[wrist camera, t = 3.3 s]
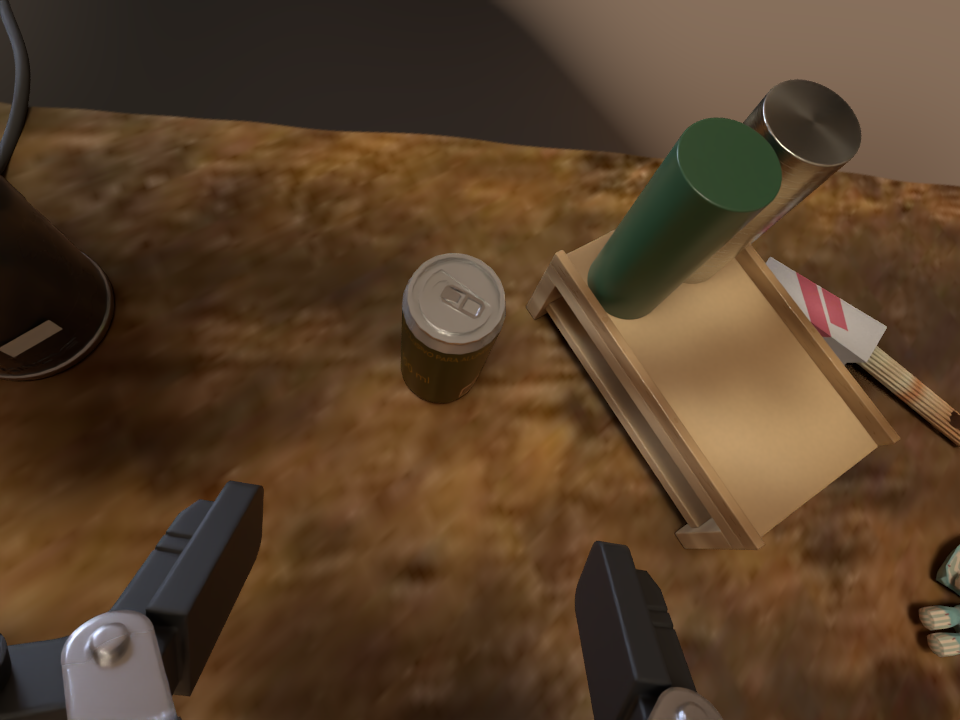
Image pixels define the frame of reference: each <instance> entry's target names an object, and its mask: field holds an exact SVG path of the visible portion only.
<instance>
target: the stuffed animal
mask: <svg viewBox="0 0 960 720" xmlns="http://www.w3.org/2000/svg"><path fill="white" fill-rule="evenodd" d="M936 580H937V581H938V582H940V583H941V584H943V585H945V586H946V587H948V588H950V589H952V590H953V591H954V592H956V593H957V594H958V595H960V545H959V546H958V547H956V548H955V549H954V550H953V551H952V552H951V553H950V554H949V555H948V557H947V558H946V560H945V561H944V563H943V564H942V566H941V567H940V568H939V570H938V572H937V577H936ZM919 619H920V620H921V622H922V624H923V626H924V627H926V628H927V629H929V630H938V629H945V628H950V627H953V628H954V629H955V631H956V632H957V633H933V634H929V635H927V640H928V645H929V647H930V649H931V650H932V652H933V653H935V654H936V655H938V656H939V657H947V656H953V655H958V654H960V605H957V606H955V607H954V608H951V607H947V606H941V605H939V606H929V607H923V608H921V609H919Z"/></svg>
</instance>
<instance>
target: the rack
mask: <svg viewBox="0 0 960 720" xmlns="http://www.w3.org/2000/svg"><path fill="white" fill-rule="evenodd" d="M860 143H861V129H860V125H859V122H858V120H857V117H856V116H855V114H854V112H853V110H852V109H851V108H850V106H849V105H848V104H847V103H846V102H845V101H844V100H843V99H842V98H841V97H840V96H839V95H838V94H836V93H835V92H833V91H832V90H830V89H829V88H827V87H825V86H823V85H821V84H818V83H815V82H812V81H807V80H788V81H785V82H782V83H779V84H778V85H776V86H774V87H773V88H772V89H771V90H770V91H769V92H768V94H767V95H766V96H765V97H764V98H763V99H762V101H761V102H760V103H759V104H758V106H757V107H756V108H755V109H754V110H753V112H752V113H751V114H750V115H749V116H748V118H747V119H746V120H745V121H744V122H743V123H740V122H737V121H735V120H731V119H726V118H708V119H703V120H701V121H698V122H696V123H694V124H692V125H691V126H690V127H688V128H687V129H686V130H685V131H684V133H683V134H682V135H681V137H680V138H679V140H678V141H677V142H676V144H675V145H674V147H673V148H672V150H671V151H670V152H669V154H668V155H667V157H666V158H665V160H664V161H663V162H662V164H661V165H660V167H659V168H658V170H657V171H656V172H655V174H654V175H653V177H652V178H651V180H650V181H649V183H648V184H647V185H646V187H645V188H644V190H643V191H642V193H641V194H640V195H639V197H638V198H637V200H636V201H635V203H634V204H633V205H632V207H631V208H630V210H629V211H628V213H627V214H626V215H625V217H624V218H623V220H622V221H621V223H620V224H619V225H618V227H617V228H616V229H615V230H613V231H612V232H610V233H608V234H606V235H604V236H602V237H600V238H598V239H596V240H594V241H592V242H590V243H588V244H586V245H584V246H582V247H580V248H578V249H576V250H574V251H572V252H570V253H568V254H566V253H565V252H564V251H563V250H561V251H559V252H557V253H555V255H554V257H553V259H552V261H551V263H550V264H549V266H548V268H547V270H546V271H545V273H544V275H543V277H542V279H541V280H540V282H539V284H538V286H537V288H536V290H535V291H534V293H533V295H532V297H531V299H530V301H529V302H528V304H527V306H526V308H527V309H528V311H529V312H530V314H531V315H532V317H533V318H534V320H535V319H537V318H539V317H541V316H543V315H544V314H546V313H548V314H549V315H550V317H551V318H552V320H553V321H554V323H555V324H556V326H557V327H558V329H559V330H560V332H561V333H562V335H563V336H564V338H565V339H566V341H567V342H568V344H569V345H570V347H571V348H572V350H573V351H574V353H575V354H576V356H577V357H578V359H579V360H580V362H581V363H582V365H583V366H584V368H585V369H586V371H587V372H588V374H589V375H590V377H591V378H592V380H593V381H594V383H595V384H596V386H597V388H598V389H599V391H600V392H601V394H602V395H603V397H604V398H605V400H606V401H607V403H608V404H609V406H610V407H611V409H612V410H613V412H614V413H615V415H616V416H617V418H618V419H619V421H620V422H621V424H622V425H623V427H624V428H625V430H626V431H627V433H628V434H629V436H630V437H631V439H632V440H633V442H634V443H635V445H636V446H637V448H638V449H639V451H640V452H641V454H642V455H643V457H644V458H645V460H646V461H647V463H648V464H649V466H650V467H651V469H652V470H653V472H654V473H655V475H656V476H657V478H658V479H659V481H660V482H661V484H662V485H663V487H664V489H665V490H666V492H667V493H668V495H669V496H670V498H671V499H672V501H673V502H674V504H675V505H676V507H677V508H678V510H679V511H680V513H681V514H682V516H683V517H684V519H685V520H686V522H687V523H688V524H687V525H685V526H684V527H682V528H681V529H680V530H678V531H677V532H676V533H675V535H676V536H677V538H678V539H679V541H680V542H681V544H682V545H683V547H684V548H685V549H739V550H745V549H746V550H759V549H760V548H761V547H763V546H764V545H765V543H764V541H763V540H762V538H761V537H762V536H763V535H765V534H766V533H767V532H769V531H770V530H771V529H772V528H774V527H775V526H776V525H778V524H779V523H780V522H782V521H783V520H784V519H785V518H787V517H788V516H789V515H791V514H792V513H793V512H794V511H796V510H797V509H798V508H800V507H801V506H802V505H803V504H805V503H806V502H807V501H809V500H810V499H811V498H812V497H814V496H815V495H816V494H818V493H819V492H820V491H821V490H823V489H824V488H825V487H827V486H828V485H829V484H831V483H832V482H833V481H834V480H836V479H837V478H838V477H840V476H841V475H842V474H843V473H845V472H846V471H847V470H849V469H850V468H851V467H852V466H854V465H855V464H856V463H858V462H859V461H860V460H861V459H863V458H864V457H865V456H867V455H868V454H869V453H870V452H872V451H873V450H874V449H876V448H877V447H878V446H884V445H889V444H894V443H896V442H897V441H898V440H900V437H899V436H898V434H897V433H896V432H895V431H894V429H893V428H892V427H891V425H890V424H889V423H888V422H887V420H886V419H885V418H884V416H883V415H882V414H881V412H880V411H879V410H878V409H877V407H876V406H875V405H874V403H873V402H872V401H871V400H870V398H869V397H868V396H867V394H866V393H865V392H864V390H863V389H862V388H861V387H860V385H859V384H858V383H857V381H856V380H855V379H854V377H853V376H852V375H851V374H850V372H849V371H848V370H847V368H846V367H845V366H844V365H843V363H842V362H841V361H840V359H839V358H838V357H837V355H836V354H835V353H834V352H833V350H832V349H831V348H830V346H829V345H828V344H827V343H826V341H825V340H824V339H823V337H822V336H821V335H820V333H819V332H818V331H817V330H816V328H815V327H814V326H813V324H812V323H811V322H810V321H809V319H808V318H807V317H806V315H805V314H804V313H803V311H802V310H801V309H800V308H799V306H798V305H797V304H796V302H795V301H794V300H793V299H792V297H791V296H790V295H789V293H788V292H787V291H786V289H785V288H784V287H783V286H782V284H781V283H780V282H779V280H778V279H777V278H776V277H775V275H774V274H773V273H772V271H771V270H770V269H769V267H768V266H767V265H766V264H765V262H764V261H763V260H762V258H761V257H760V256H759V255H758V253H757V252H756V251H755V249H754V248H753V247H752V245H751V244H752V243H753V242H754V241H755V240H756V239H757V238H759V237H760V236H761V235H762V234H763V233H765V232H766V231H767V230H768V229H769V228H770V227H772V226H773V225H774V224H775V223H776V222H778V221H779V220H780V219H781V218H782V217H783V216H785V215H786V214H787V213H788V212H789V211H791V210H792V209H793V208H794V207H795V206H796V205H798V204H799V203H800V202H801V201H802V200H804V199H805V198H806V197H807V196H808V195H809V194H811V193H812V192H813V191H814V190H815V189H817V188H818V187H819V186H820V185H821V184H822V183H824V182H825V181H826V180H827V179H828V178H830V177H831V176H832V175H833V174H834V173H835V172H837V171H838V170H839V169H840V168H841V167H843V166H844V165H845V164H846V163H847V162H848V161H850V160H851V159H852V158H853V157H854V155H855V154H856V153H857V151H858V149H859V147H860Z"/></svg>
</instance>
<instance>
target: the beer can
mask: <svg viewBox="0 0 960 720" xmlns="http://www.w3.org/2000/svg"><path fill="white" fill-rule="evenodd" d="M505 316H506V301H505V293H504V290H503V287H502V284H501V281H500V279H499V278H498V276H497V275H496V274H495V272H494V271H493V270H492V268H490V267H489V266H488V265H486V264H485V263H484V262H482V261H481V260H480V259H477V258H474V257H472V256H469V255H466V254H457V253H448V254H443V255H438V256H435V257H433V258H431V259H430V260H428V261H426V262H424V263H423V264H422V265H421V266H420V267H419V268H418V269H417V270H416V271H415V273H414V274H413V276H412V278H411V279H410V280H409V282H408V284H407V286H406V289H405V291H404V293H403V305H402V338H401V371H402V375H403V379H404V381H405V383H406V384H407V385H408V387H409V388H410V390H411V391H412V392H414V393H415V394H416V395H417V396H419V397H420V398H422V399H425V400H428V401H430V402H437V403H446V402H450V401H454V400H457V399H459V398H460V397H462V396H463V395H465V394H466V393H468V391H469V390H470V389H471V387H472V386H473V385H474V384H475V382H476V380H477V378H478V375H479V373H480V371H481V369H482V367H483V365H484V363H485V361H486V359H487V357H488V355H489V353H490V351H491V349H492V347H493V345H494V343H495V341H496V339H497V337H498V335H499V332H500V330H501V328H502V325H503V322H504V319H505Z"/></svg>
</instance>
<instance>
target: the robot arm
mask: <svg viewBox="0 0 960 720" xmlns="http://www.w3.org/2000/svg"><path fill="white" fill-rule="evenodd" d="M0 16H1V18H2V21H3V23H4V26H5V28H6V31H7V33H8V36H9V39H10V42H11V44H12V48H13V53H14V58H15V69H16V70H15V89H14V96H13V102H12V107H11V112H10V116H9V120H8V123H7V126H6V129H5V132H4V135H3V137H2V140H1V142H0V379H4V380H12V381H27V380H35V379H41V378H45V377H48V376H52V375H55V374H57V373H60V372H62V371H64V370H66V369H68V368H70V367H72V366H73V365H75V364H77V363H78V362H80V361H81V360H82V359H84V358H85V357H86V356H87V355H88V354H90V353H91V352H92V351H93V350H94V349H95V347H96V346H97V345H98V344H99V343H100V341H101V340H102V338H103V337H104V335H105V334H106V332H107V330H108V328H109V326H110V323H111V320H112V317H113V312H114V294H113V290H112V286H111V283H110V281H109V279H108V277H107V276H106V274H105V273H104V271H103V270H102V269H101V268H100V267H99V266H98V265H97V264H96V263H95V262H94V261H93V260H92V259H91V258H90V257H88V256H87V255H86V254H84V253H83V252H81V251H80V250H79V249H78V248H77V247H76V246H75V245H74V244H72V243H71V242H70V241H69V240H68V239H67V238H66V237H65V236H64V235H63V234H62V233H61V232H60V231H59V230H58V229H57V228H55V227H54V226H53V225H52V224H51V223H50V222H49V221H48V220H47V219H46V218H45V217H44V216H42V215H41V214H40V213H39V212H38V211H37V210H36V209H35V208H34V207H33V206H32V205H31V204H29V203H28V202H27V201H26V199H25V197H24V196H23V195H22V194H21V193H19V192H18V191H17V190H16V189H15V188H14V187H13V186H12V185H11V184H10V183H9V182H8V181H7V180H6V179H4V178H3V177H2V176H1V173H2V172H3V170H4V169H5V167H6V166H7V164H8V162H9V160H10V157H11V155H12V153H13V150H14V148H15V146H16V143H17V141H18V139H19V136H20V134H21V131H22V128H23V125H24V122H25V118H26V113H27V108H28V101H29V93H30V65H29V58H28V54H27V50H26V47H25V43H24V40H23V38H22V35H21V32H20V30H19V28H18V25H17V22H16V20H15V17H14V15H13V12H12V10H11V7H10V4H9V1H8V0H0ZM263 497H264V489H263V486H260V485H254V484H248V483H242V482H235V481H229V482H227V483H226V485H225V486H224V488H223V489H222V491H221V492H220V494H219V496H218V497H217V499H216V500H215V502H213V501H207V500H200V499H199V500H198V501H196V502H195V503H194V504H192V505H191V506H189V507H188V508H186V509H185V510H183V511H182V512H181V513H179V514H178V516H177V517H176V519H175V520H174V521H173V523H172V524H171V526H170V527H169V528H168V530H167V531H166V534H165V535H163V537H162V538H161V540H160V541H159V542H158V544H157V545H156V547H155V550H153V551H152V552H151V554H150V555H149V556H148V558H147V559H146V561H145V562H144V564H143V565H142V566H141V568H140V569H139V571H138V572H137V573H136V575H135V576H134V578H133V579H132V580H131V582H130V583H129V585H128V586H127V587H126V589H125V590H124V592H123V593H122V594H121V596H120V597H119V599H118V600H117V602H116V603H115V604H114V606H113V607H112V608H111V609H110V611H109V612H107V613H103V614H101V615H98V616H96V617H94V618H92V619H90V620H88V621H87V622H85V623H84V624H82V625H81V626H80V627H78V628H77V629H76V630H75V631H74V632H73V633H72V634H71V635H69V636H66V637H63V638H58V639H53V640H46V641H39V642H32V643H25V644H18V645H10V646H7V643H6V641H5V638H4V637H3V636H2V634H1V633H0V720H182V719H181V717H177V714H176V711H175V707H174V703H173V700H172V695H173V694H175V695H183V696H191V693H192V691H193V689H194V687H195V685H196V683H197V681H198V679H199V677H200V675H201V673H202V671H203V668H204V666H205V664H206V662H207V660H208V658H209V656H210V654H211V652H212V650H213V648H214V646H215V643H216V641H217V639H218V637H219V635H220V633H221V631H222V629H223V627H224V625H225V623H226V621H227V618H228V616H229V614H230V612H231V610H232V608H233V606H234V604H235V602H236V600H237V598H238V596H239V593H240V591H241V589H242V587H243V585H244V583H245V581H246V579H247V577H248V575H249V573H250V571H251V568H252V566H253V564H254V562H255V560H256V557H257V554H258V551H259V547H260V543H261V537H262V520H263ZM575 612H576V618H577V623H578V629H579V635H580V640H581V646H582V652H583V657H584V663H585V669H586V675H587V680H588V686H589V692H590V697H591V703H592V709H593V714H594V720H723V719H722V717H721V715H720V714H719V712H718V711H717V710H716V709H715V707H714V706H713V705H712V704H711V703H710V702H709V701H708V700H706V699H705V698H704V697H703V696H701V695H699V694H698V693H697V691H696V688H695V686H694V683H693V680H692V677H691V674H690V671H689V669H688V666H687V663H686V660H685V657H684V654H683V652H682V649H681V646H680V643H679V640H678V637H677V635H676V632H675V630H674V629H673V623H672V620H671V618H670V615H669V613H667V606H666V603H665V601H664V598H663V595H662V592H661V589H660V588H659V587H658V585H657V584H656V583H655V582H654V580H653V579H652V578H651V576H650V575H649V574H648V572H647V571H644V570H637V569H635V566H634V562H633V559H632V556H631V553H630V550H629V548H628V547H627V546H626V545H620V544H614V543H608V542H602V541H596V542H594V544H593V546H592V548H591V551H590V553H589V556H588V558H587V561H586V564H585V566H584V569H583V571H582V574H581V576H580V579H579V582H578V585H577V588H576V594H575Z"/></svg>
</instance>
